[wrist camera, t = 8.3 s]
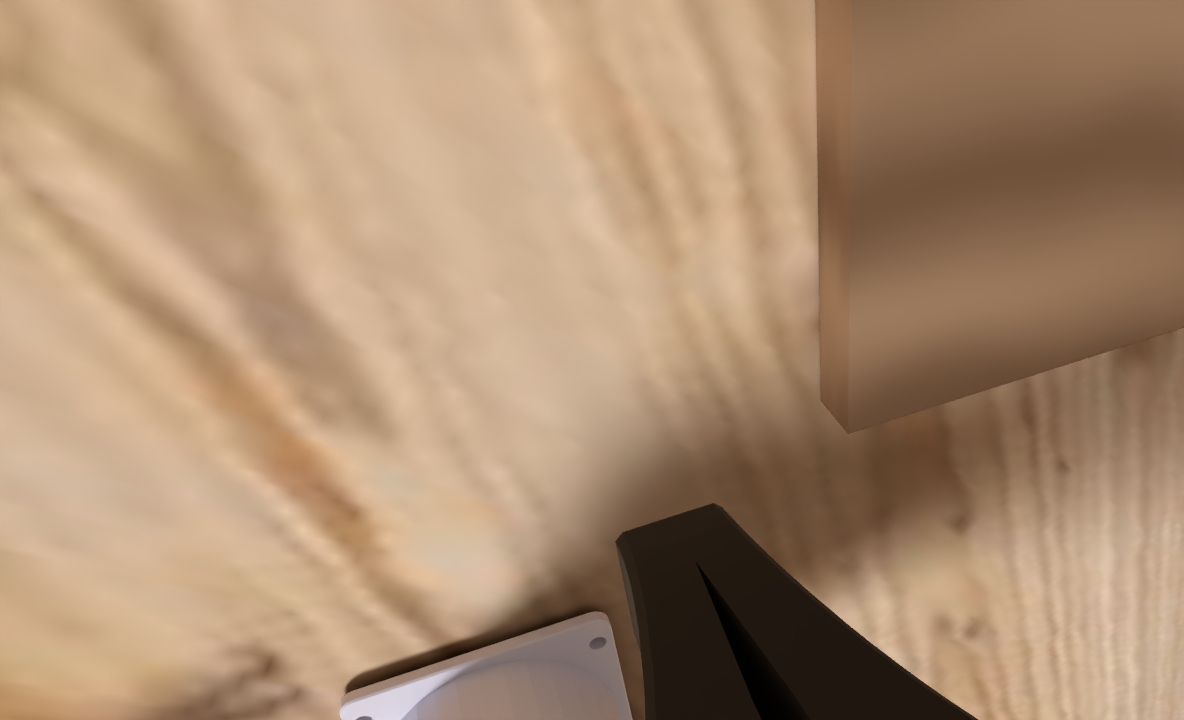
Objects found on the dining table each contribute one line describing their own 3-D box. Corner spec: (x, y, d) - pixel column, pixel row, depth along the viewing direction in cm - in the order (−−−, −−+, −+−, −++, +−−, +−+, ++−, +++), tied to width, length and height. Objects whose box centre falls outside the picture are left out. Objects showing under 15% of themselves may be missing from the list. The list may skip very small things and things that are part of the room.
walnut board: (1142, 300, 26) (1184, 327, 25) (820, 400, 25) (848, 433, 24) (1242, -127, 20) (1304, -120, 18) (815, -22, 18) (852, -7, 17)
